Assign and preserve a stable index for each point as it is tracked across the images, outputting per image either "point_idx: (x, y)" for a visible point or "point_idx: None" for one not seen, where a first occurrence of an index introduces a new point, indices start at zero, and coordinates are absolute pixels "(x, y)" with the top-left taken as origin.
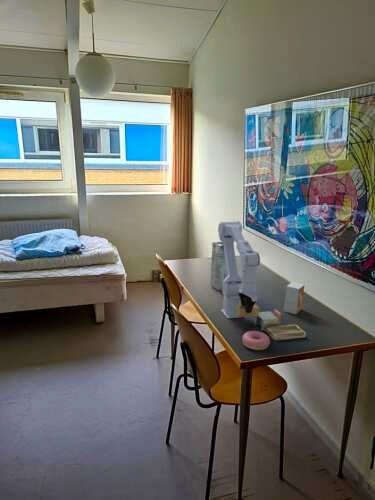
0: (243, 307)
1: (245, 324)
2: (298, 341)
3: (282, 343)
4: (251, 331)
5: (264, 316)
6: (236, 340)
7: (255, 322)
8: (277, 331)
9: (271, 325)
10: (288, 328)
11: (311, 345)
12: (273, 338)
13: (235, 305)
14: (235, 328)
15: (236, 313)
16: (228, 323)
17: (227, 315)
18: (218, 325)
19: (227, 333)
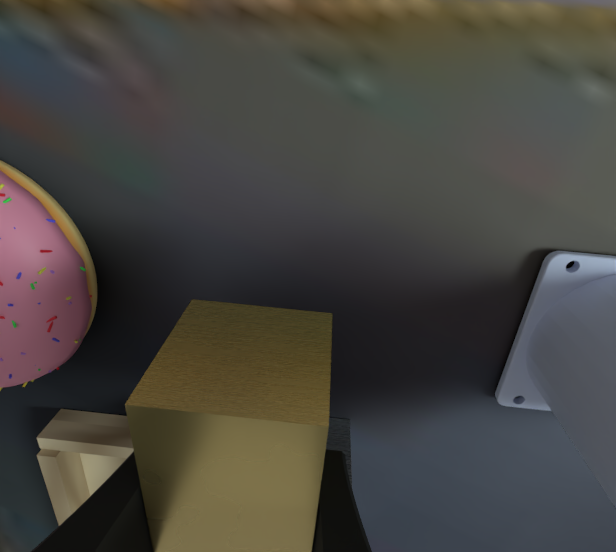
0: (193, 482)
1: (359, 349)
2: (49, 509)
3: (20, 428)
4: (10, 296)
5: None
6: (62, 118)
7: (339, 429)
8: None
9: None
10: None
11: (4, 534)
12: (77, 414)
13: (611, 431)
14: (312, 228)
15: (299, 317)
16: (442, 210)
17: (601, 277)
18: (446, 66)
19: (224, 89)
